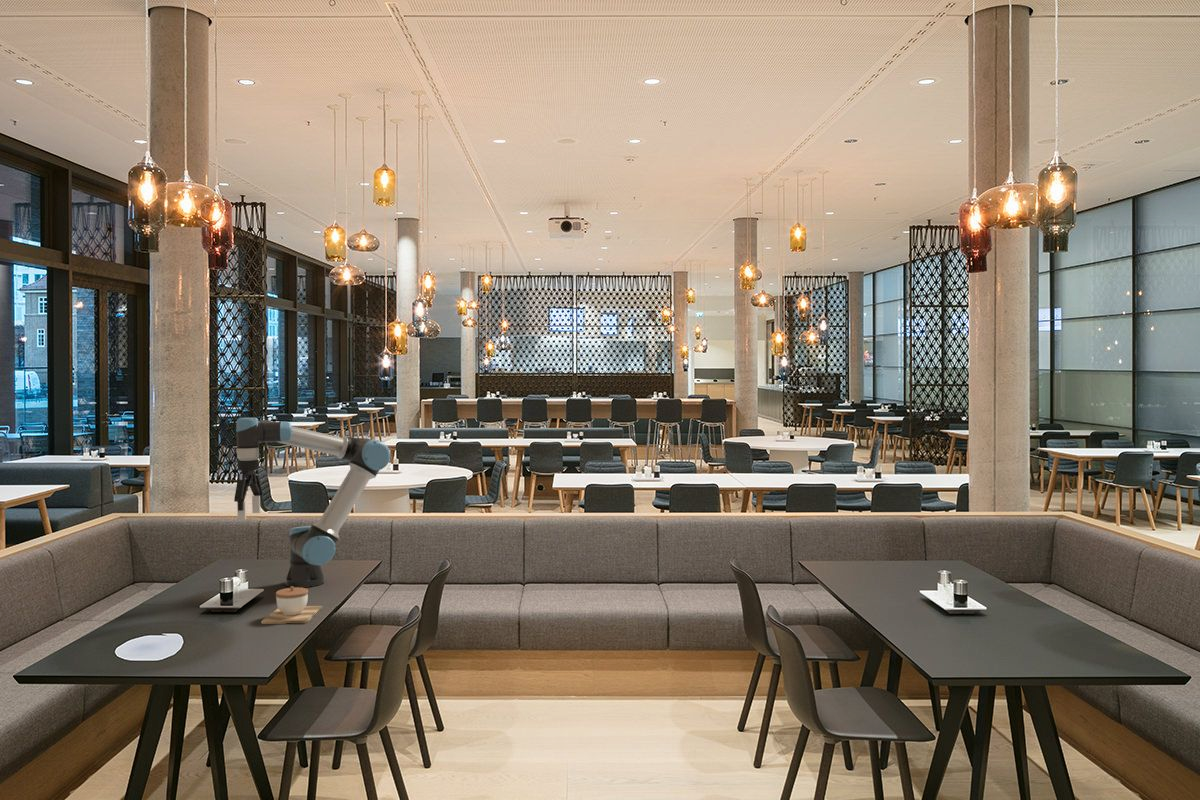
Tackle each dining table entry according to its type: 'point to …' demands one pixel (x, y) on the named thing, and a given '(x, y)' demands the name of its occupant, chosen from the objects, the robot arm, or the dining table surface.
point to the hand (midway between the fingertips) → (249, 516)
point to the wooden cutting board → (280, 618)
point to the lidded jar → (292, 600)
